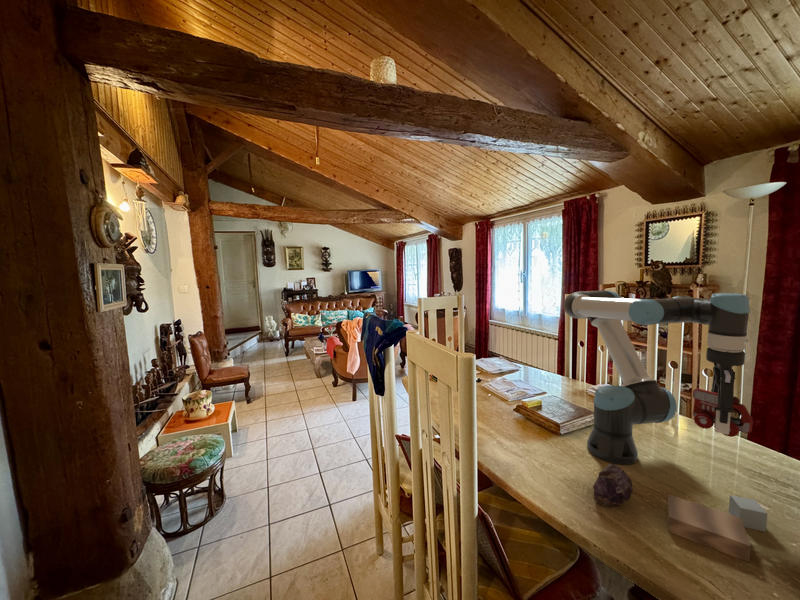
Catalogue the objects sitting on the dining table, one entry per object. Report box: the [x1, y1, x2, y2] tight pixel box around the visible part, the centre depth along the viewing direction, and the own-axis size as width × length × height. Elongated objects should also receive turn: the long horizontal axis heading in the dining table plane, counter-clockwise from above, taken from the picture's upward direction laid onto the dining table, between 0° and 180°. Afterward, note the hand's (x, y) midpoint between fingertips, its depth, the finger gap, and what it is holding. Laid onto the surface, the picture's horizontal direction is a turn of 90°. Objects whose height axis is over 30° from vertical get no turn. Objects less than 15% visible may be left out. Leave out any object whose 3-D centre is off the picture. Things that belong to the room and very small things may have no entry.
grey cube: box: [728, 494, 768, 533], centre depth 83 cm, size 5×5×5 cm
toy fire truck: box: [692, 387, 754, 437], centre depth 91 cm, size 7×12×10 cm, turn 31°
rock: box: [592, 463, 634, 507], centre depth 92 cm, size 12×9×10 cm
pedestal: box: [666, 494, 751, 563], centre depth 80 cm, size 14×10×4 cm
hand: (719, 425), depth 91 cm, fingers closed on toy fire truck, 8 cm apart
